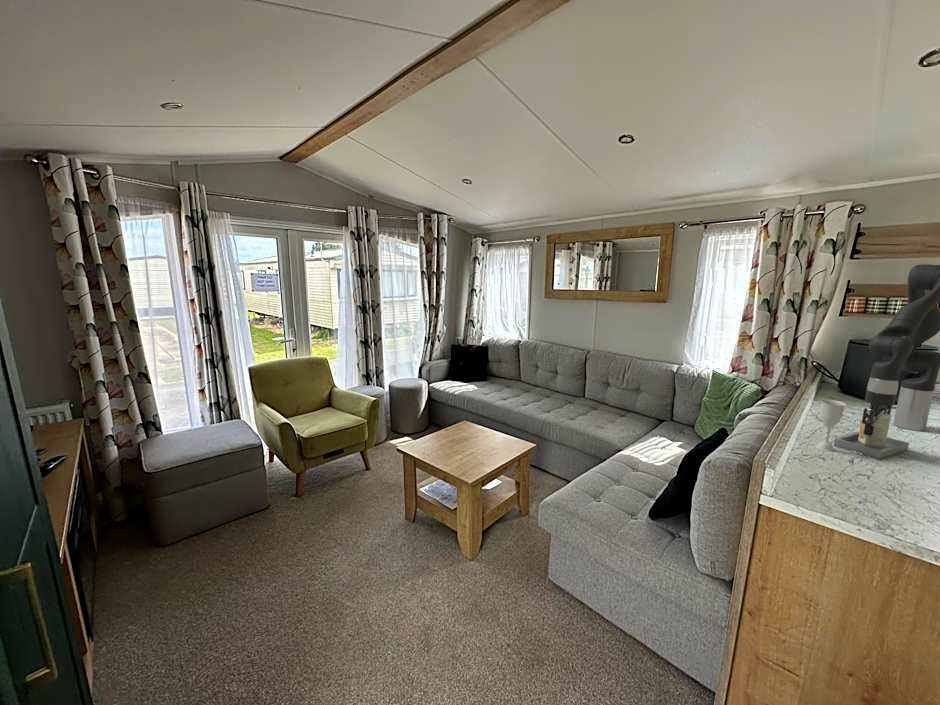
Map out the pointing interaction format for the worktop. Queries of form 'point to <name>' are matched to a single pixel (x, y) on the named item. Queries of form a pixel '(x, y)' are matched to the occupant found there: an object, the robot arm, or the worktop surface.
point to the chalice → (830, 420)
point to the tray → (871, 446)
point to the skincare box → (876, 431)
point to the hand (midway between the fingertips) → (873, 433)
